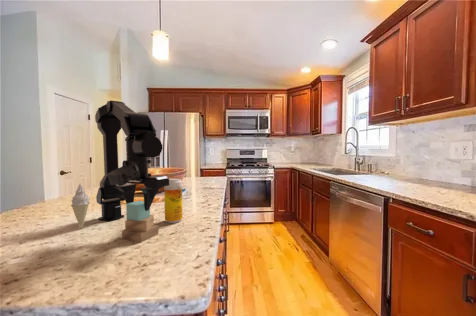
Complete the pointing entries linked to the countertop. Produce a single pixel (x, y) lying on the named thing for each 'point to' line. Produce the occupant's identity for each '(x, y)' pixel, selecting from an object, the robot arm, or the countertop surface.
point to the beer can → (173, 201)
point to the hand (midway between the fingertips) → (138, 209)
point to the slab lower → (140, 234)
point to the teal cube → (137, 211)
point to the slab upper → (139, 224)
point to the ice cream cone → (80, 205)
